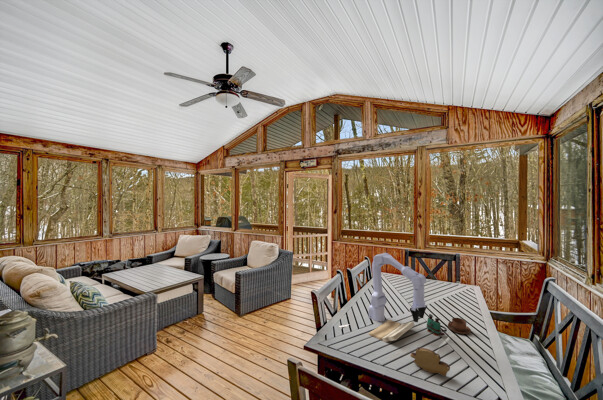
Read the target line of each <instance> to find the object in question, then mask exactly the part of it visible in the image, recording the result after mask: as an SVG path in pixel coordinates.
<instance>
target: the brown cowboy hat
mask: <svg viewBox="0 0 603 400" xmlns="http://www.w3.org/2000/svg"><path fill="white" fill-rule="evenodd" d="M447 327H448V329H450V330H451V331H452V332H454V333H457V334H463V335H465V334H470V333H471V332H472V329H471V328H470V327H469V326H467V320H466V319H463V318H459V317H452V319H451V321H449V322H448V324H447Z"/></svg>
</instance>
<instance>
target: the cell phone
mask: <svg viewBox="0 0 603 400" xmlns="http://www.w3.org/2000/svg"><path fill="white" fill-rule="evenodd" d="M349 325H350V324H349V323H348V324H342V325H338V328H339V327H340V328H341V329H340V328H339V329H340V330H343V329H345V328H347V327H348V326H349Z"/></svg>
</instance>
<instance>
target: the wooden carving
mask: <svg viewBox="0 0 603 400" xmlns="http://www.w3.org/2000/svg"><path fill="white" fill-rule="evenodd" d="M409 356H410V357H411V358H412V359H414V360H413V363H414V364H415V365H416V366H418V367H419V368H420V369H422V370H424V371H426V372H428V373H430V374H431V373H432V374H439V375H441V376H443V377H446V376H447V374H448V372H450V370H451V366H450V365H449V364H448V363H447V362H445V361H444V360H443V361H442V360H441V355H440V354H439V353H436V352H435V351H433V350H431V349H428V348H425V347H417V348H416V350H415V352H414V351H413V352H411V353H410V355H409Z"/></svg>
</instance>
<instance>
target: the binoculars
mask: <svg viewBox="0 0 603 400" xmlns="http://www.w3.org/2000/svg"><path fill="white" fill-rule="evenodd" d="M433 318H434V315H433V314H431V313H429V314H428V318H427V321H426V328H427V330H426V332H428V333H432V332H433V333H432V334H433V335H434V336H436V337H439V336H444V335H445V332H447V331H448V330H447V329H448V328H446V326H443V325H441V322H440V318H439V317H438V318H434V319H433ZM433 335H432V336H433Z"/></svg>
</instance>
